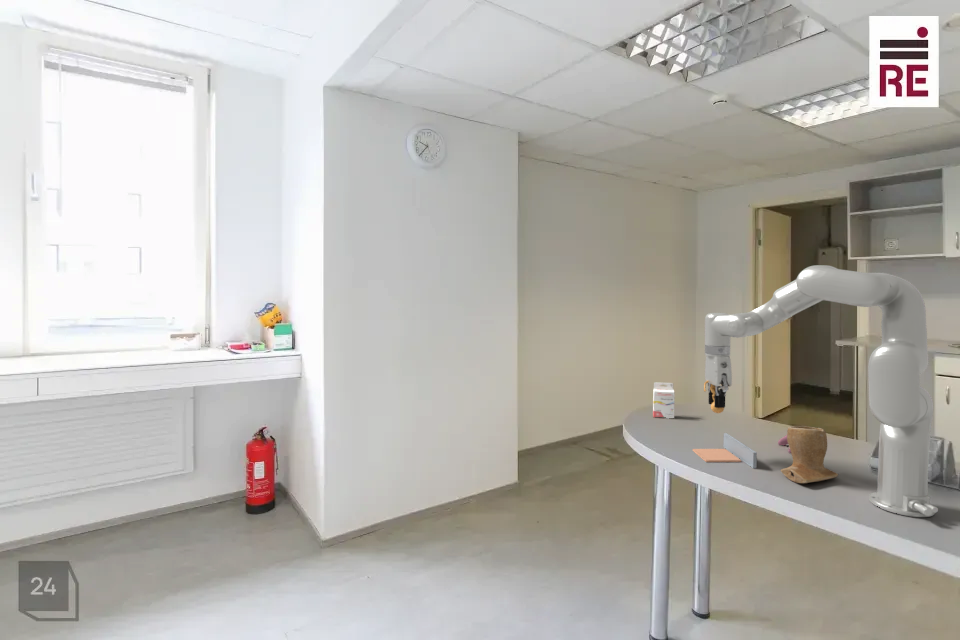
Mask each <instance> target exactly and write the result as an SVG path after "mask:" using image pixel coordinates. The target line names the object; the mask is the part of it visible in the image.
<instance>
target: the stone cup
mask: <svg viewBox="0 0 960 640" xmlns="http://www.w3.org/2000/svg"><path fill="white" fill-rule="evenodd" d="M786 435H787V441H788V444H787V445H788V447H789V448H790V450H791V457H792V464H791V465H789V466H788V467H785V468H781V469H780V472H781V473H782V474H783V475H784V476H785V477H786V478H787V479H788V480H790V481H792V482H794V483H795V484H796V483H797V484H808V483H809V484H810V483H815V482H822V481H825V480H831V479H834V478H837V477H838V476H839V473H837V472H835V471H833V470H831V469H828V468H827V467H825V465H824V461H825V457H826V454H827V451H828V437H827V432H826V430H825V429H824V428H821V427H815V426H808V425H807V426H806V425H792V426H789V427H787V432H786Z"/></svg>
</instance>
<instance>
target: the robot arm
mask: <svg viewBox="0 0 960 640" xmlns="http://www.w3.org/2000/svg"><path fill="white" fill-rule="evenodd" d="M822 301H827V302H833V303H839V304H842V305H843V304H845V305H849V306H855V307H861V308H869V307H870V308H872V307H877V306H878V307H879V308H880V309H881V322H880V324H881V325H880V327H881V345H879V346H877V347H876V348H875V349H874V350H873V351H872V353H871V354H870V356H869V359H868V364H867V365H868V368H867V369H868V370H867V371H868V376H867V377H868V404H869V409H870V412H871V413H872V416H874V418H875V419H876V420H877V421H878V422H879V423H880V426H879V439H878V440H879V441H878V461H877V463H878V464H877V465H878V466H877V484H876V485H877V487H876V488H877V490H876V491H874V492H872V493H869V495H868V496H869V501H870V503H871V504H873V505H874V506H876V507H877V506H878V508H879V507H880V509H882V510H883V511H886V512H887V511H888V512H890V513H893V514H896V513H897V514H896V515H901V516H906V517H912V518H913V517H914V518H930V517H934V515H936V513H937V512H938V511H939V508H938V507H937V506H935V505H932V504H931V497H930V496H929V495H928V485H929V484H928V483H929V463H930V462H929V461H930V447H931V446H930V445H931V443H930V442H931V431H932V422H933V416H934V401H933V398H932V396H931V394H930V393H929V391H928V390H927V389H926V388H924V387H922V386H921V375H922V374H923V373H924V372H925V371H926V370H927V369H928V366H929V362H930V361H929V351H928V330H927V314H926V313H927V312H926V311H927V310H926V305H925V301H924V298H923V295H922V293H921V292H920V291H919V289H918V288H917V287H916V286H915V285H914V284H913V283H911V282H910V281H909V280H907V279H905V278H902V277H900V276H897V275H894V274H891V273H887V272H865V271H864V272H863V271H857V270H855V271H853V270H847V269H840V268H837V267H835V266H832V265H826V264H825V265H823V264H822V265H820V264H819V265H817V264H816V265H811V266H807V267H806V268H803V270H801V271H800V272H799V273H798V275H797V277H796V278H795V279H794V280H793V281H791V282H789V283H787V284H785V285H783V286H781V287H780V288H778V289H776V290H775V291H774V292H773V294H772V297H771V299H769V300H768V301H767V302H765V303H764V304H761V305H760V306H759V307H756V308H754V309H753V310H751V311H749V312H740V313H732V314H731V313H730V314H729V313H727V312H726V313H725V312H711V313H710V312H709V313H707V314H706V315H705V317H704V356H705V364H704V379H705V382H706V381H707V380H708V381H709V382H708V383H707V387H708V388H707V391H708V404H709V405H711V404H712V403H713V402H714V407H716V408H724V409H725V407H726V395H727V392H728V391H729V387H731V386H732V385H733V381H732V380H733V375H732V374H733V373H732V362H731V338H737V339H738V338H740V339H741V338H745V337H751V336H756V335H759V334H761V333H763V332H765V331H767V330H769V329H771V328H773V327H776V326H777V325H779V324H781V323H782V322H784V321H786V320H788V319H790V318H791V317H793V316H794V315H796V314H799V313H801V312H802V311H804V310H806V309H808V308H810V307H812V306H814V305H816V304H818V303H820V302H822ZM711 384H712V385H714V386H715V389H716V391H715V393H716V394H715V396H714V398H715V400H713V397H712V395H714V394H713V393H712V391H711V390H710V388H711ZM721 384H722V385H721Z"/></svg>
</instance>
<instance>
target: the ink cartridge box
mask: <svg viewBox="0 0 960 640" xmlns="http://www.w3.org/2000/svg"><path fill="white" fill-rule="evenodd" d="M663 385H664V386H663ZM652 391H653V392H652V393H653V395H652V396H653V397H652V417H653V418H655V417H666V418H665V419H669V418H674V419H675V399H676V397H675V395H676V394H675V393H676V392H675V389H674V383H673V382H656V381H655V382H653V390H652Z"/></svg>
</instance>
